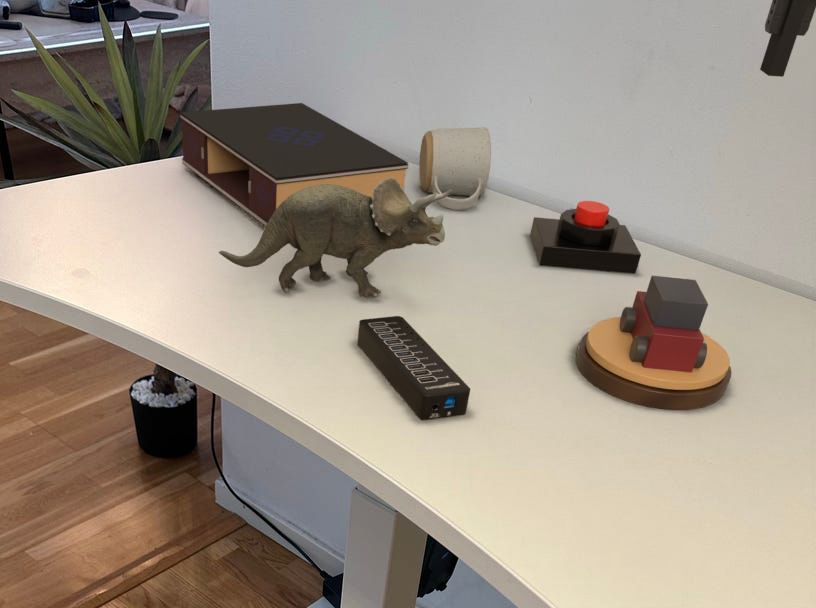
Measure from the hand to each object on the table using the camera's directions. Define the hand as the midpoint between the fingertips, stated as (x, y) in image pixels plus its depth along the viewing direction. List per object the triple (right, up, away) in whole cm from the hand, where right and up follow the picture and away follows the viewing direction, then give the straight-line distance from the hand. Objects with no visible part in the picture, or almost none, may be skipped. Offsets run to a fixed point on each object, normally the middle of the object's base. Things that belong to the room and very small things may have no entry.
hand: (771, 72), depth 91 cm
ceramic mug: (-29, 0, +26) cm, 39 cm away
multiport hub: (-37, -34, -10) cm, 51 cm away
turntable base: (-14, -32, -6) cm, 35 cm away
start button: (-15, -10, +12) cm, 21 cm away
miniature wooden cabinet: (-50, -2, +22) cm, 54 cm away
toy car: (-14, -31, -7) cm, 34 cm away
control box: (-15, -12, +14) cm, 24 cm away
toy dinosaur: (-45, -20, +3) cm, 49 cm away
